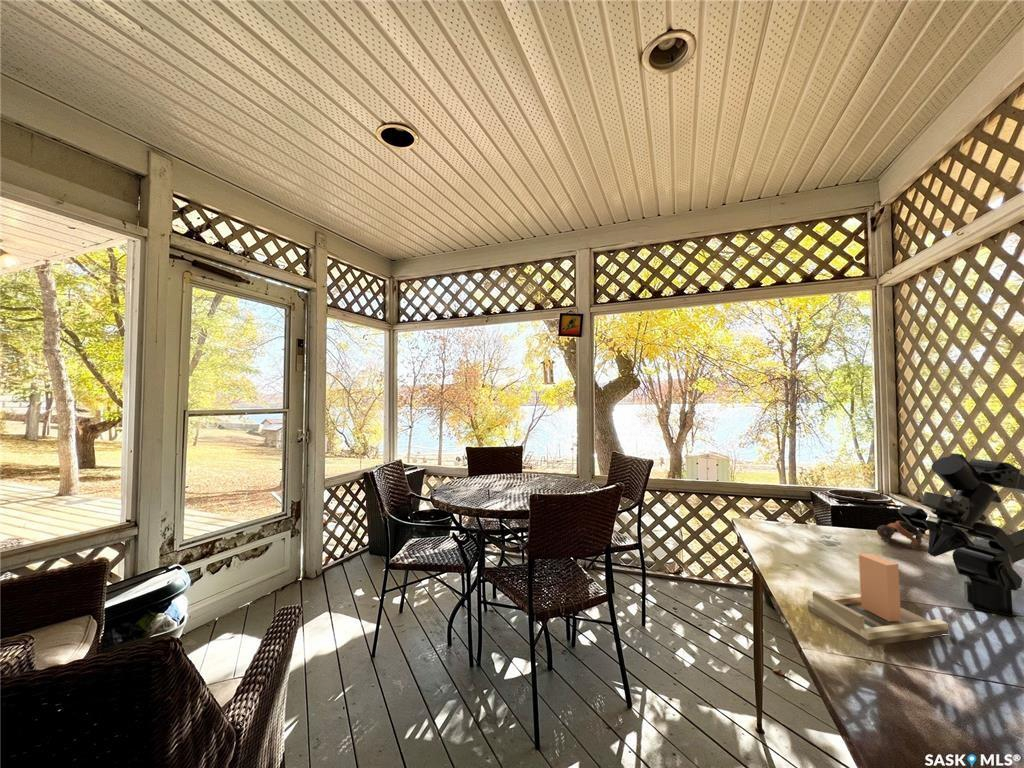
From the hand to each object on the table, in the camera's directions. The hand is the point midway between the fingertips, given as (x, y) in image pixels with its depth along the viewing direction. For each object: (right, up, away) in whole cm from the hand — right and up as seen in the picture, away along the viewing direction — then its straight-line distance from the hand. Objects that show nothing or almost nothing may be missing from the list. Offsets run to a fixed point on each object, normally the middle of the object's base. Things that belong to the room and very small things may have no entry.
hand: (931, 554), depth 93 cm
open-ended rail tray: (-16, -14, -3) cm, 21 cm away
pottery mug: (+33, -14, +43) cm, 56 cm away
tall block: (-14, -12, -3) cm, 19 cm away
